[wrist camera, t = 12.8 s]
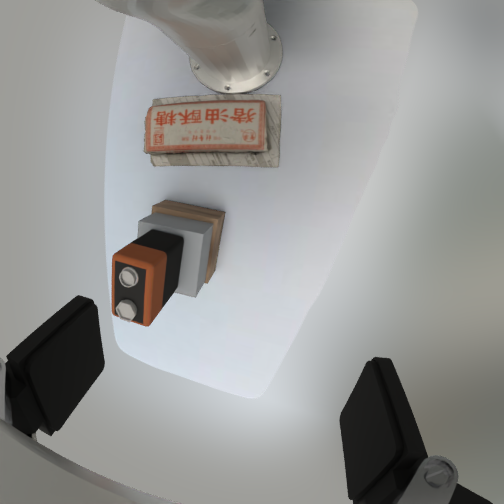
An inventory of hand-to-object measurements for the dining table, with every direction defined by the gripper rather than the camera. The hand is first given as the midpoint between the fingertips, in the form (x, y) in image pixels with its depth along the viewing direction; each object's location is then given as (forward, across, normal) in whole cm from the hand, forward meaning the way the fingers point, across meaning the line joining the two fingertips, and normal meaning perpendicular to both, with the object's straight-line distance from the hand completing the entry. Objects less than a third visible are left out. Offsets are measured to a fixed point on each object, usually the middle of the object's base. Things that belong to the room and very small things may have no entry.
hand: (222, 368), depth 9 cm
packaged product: (+34, +9, -8) cm, 36 cm away
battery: (+24, +11, +7) cm, 27 cm away
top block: (+29, +10, +7) cm, 31 cm away
